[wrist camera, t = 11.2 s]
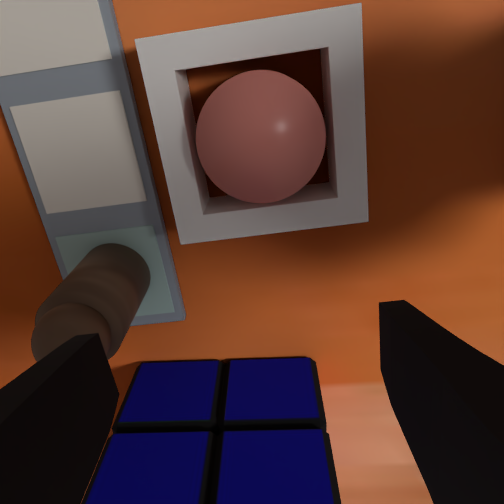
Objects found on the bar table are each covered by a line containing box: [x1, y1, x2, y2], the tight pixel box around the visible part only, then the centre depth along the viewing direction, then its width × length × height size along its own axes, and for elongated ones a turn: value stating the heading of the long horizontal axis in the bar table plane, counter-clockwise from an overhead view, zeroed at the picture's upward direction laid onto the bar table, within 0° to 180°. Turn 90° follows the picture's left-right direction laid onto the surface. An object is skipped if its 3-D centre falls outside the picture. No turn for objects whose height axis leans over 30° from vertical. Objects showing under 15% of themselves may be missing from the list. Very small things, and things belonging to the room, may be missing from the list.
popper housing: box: [135, 3, 369, 245], centre depth 18 cm, size 8×8×2 cm
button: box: [196, 69, 326, 203], centre depth 17 cm, size 5×5×3 cm
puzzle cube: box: [81, 358, 341, 504], centre depth 21 cm, size 10×10×10 cm
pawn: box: [31, 243, 151, 362], centre depth 18 cm, size 3×3×7 cm
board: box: [0, 0, 186, 326], centre depth 19 cm, size 6×18×1 cm, turn 8°
